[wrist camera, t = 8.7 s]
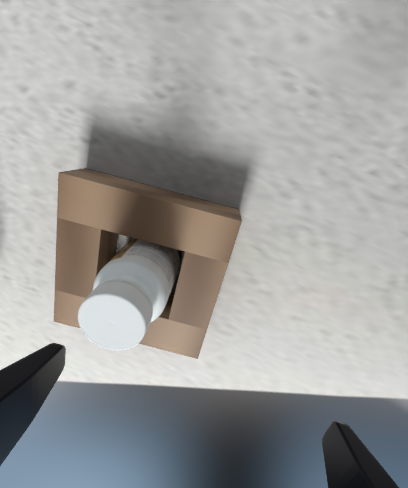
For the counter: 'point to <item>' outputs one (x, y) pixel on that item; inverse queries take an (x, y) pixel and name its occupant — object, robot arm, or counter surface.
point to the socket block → (147, 229)
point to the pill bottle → (129, 294)
